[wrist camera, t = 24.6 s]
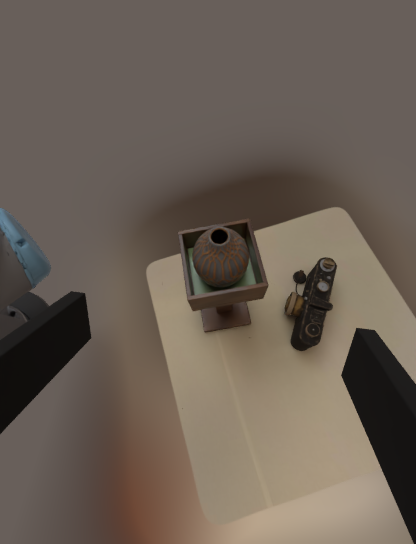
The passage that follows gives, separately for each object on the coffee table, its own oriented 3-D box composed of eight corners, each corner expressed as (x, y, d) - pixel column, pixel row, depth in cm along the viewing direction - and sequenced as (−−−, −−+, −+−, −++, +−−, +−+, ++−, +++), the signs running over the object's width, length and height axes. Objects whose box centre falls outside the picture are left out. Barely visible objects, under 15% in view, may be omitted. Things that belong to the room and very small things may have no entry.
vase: (211, 239, 37) (207, 200, 29) (255, 260, 36) (263, 223, 27) (186, 279, 35) (174, 248, 27) (232, 302, 33) (233, 277, 25)
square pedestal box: (203, 334, 50) (187, 300, 30) (196, 288, 54) (177, 231, 34) (252, 325, 50) (268, 285, 30) (241, 280, 54) (249, 218, 34)
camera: (295, 265, 54) (305, 247, 47) (327, 275, 53) (343, 258, 46) (273, 341, 49) (281, 333, 41) (309, 354, 47) (324, 349, 40)
